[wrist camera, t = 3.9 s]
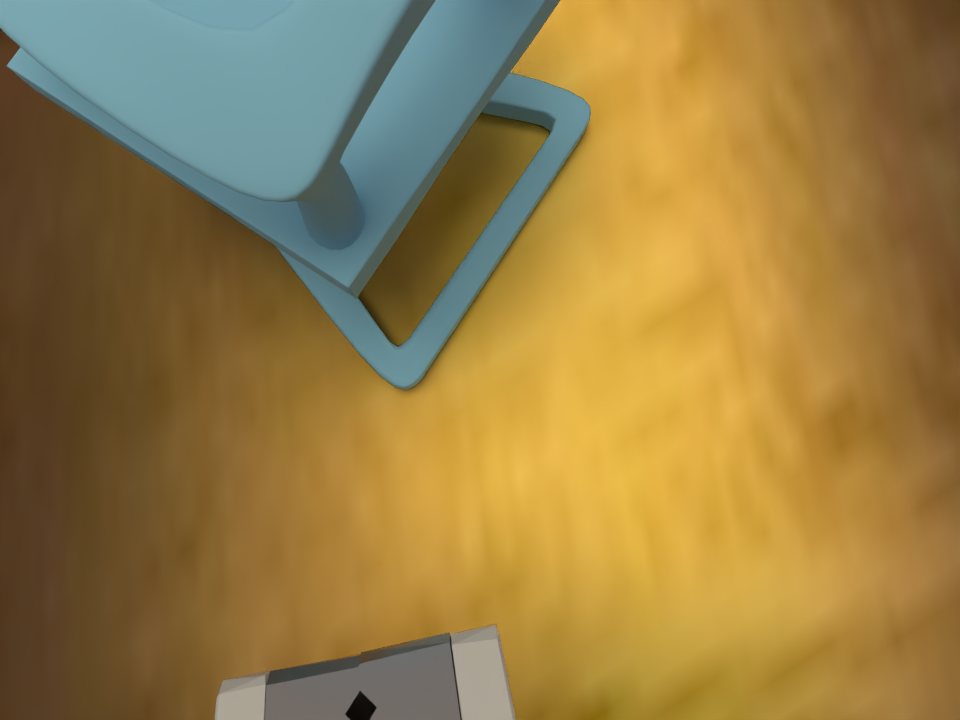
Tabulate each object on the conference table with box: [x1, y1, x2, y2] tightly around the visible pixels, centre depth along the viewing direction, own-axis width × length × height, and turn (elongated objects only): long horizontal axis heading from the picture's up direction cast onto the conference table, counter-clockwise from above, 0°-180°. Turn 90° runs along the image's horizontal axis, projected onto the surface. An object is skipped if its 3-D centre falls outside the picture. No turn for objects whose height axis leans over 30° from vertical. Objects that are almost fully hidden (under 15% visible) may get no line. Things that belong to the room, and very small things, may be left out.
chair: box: [0, 0, 591, 390], centre depth 15 cm, size 8×8×12 cm
